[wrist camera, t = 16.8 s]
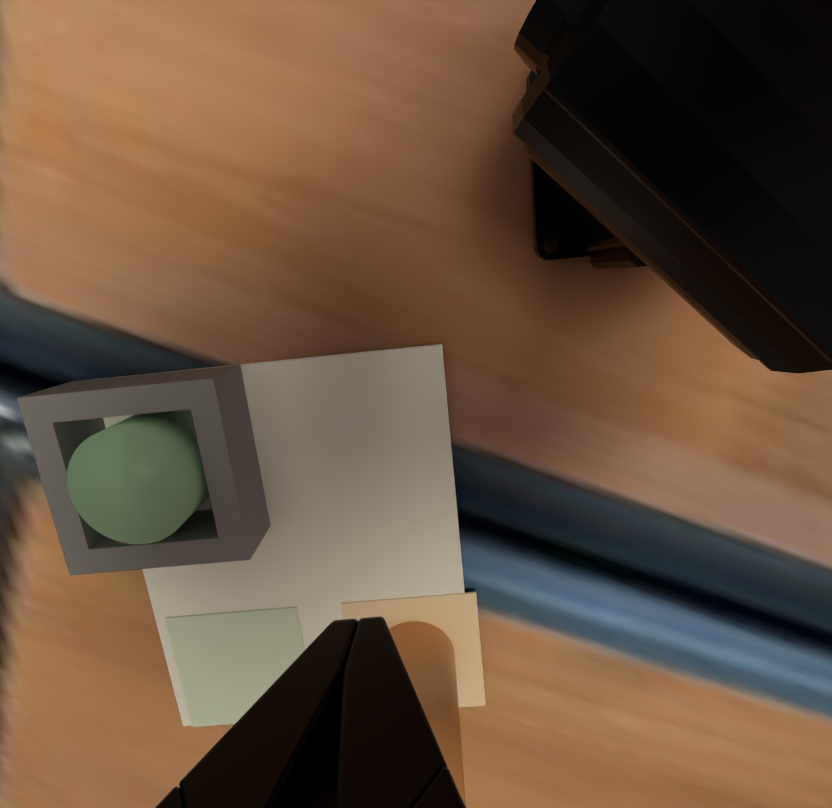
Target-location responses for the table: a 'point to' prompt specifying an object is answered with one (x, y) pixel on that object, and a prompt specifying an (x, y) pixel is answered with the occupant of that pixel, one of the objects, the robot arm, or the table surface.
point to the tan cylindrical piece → (434, 687)
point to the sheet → (281, 513)
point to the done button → (139, 477)
